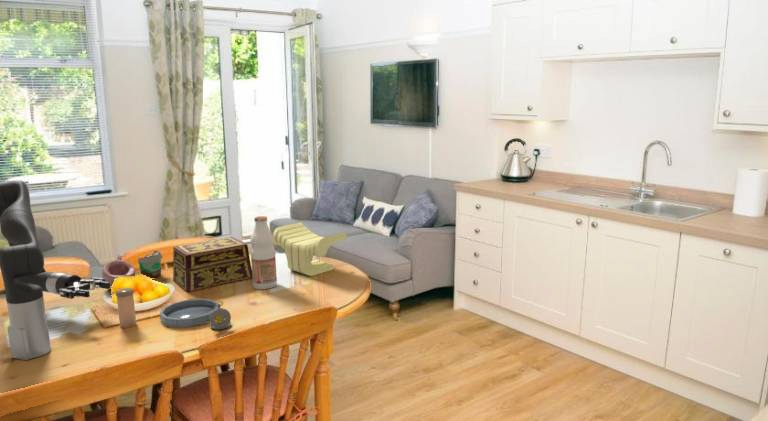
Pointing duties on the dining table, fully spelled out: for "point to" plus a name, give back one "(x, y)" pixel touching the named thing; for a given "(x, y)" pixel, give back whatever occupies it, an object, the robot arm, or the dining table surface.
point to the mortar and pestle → (117, 270)
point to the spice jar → (126, 307)
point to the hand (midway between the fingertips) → (99, 289)
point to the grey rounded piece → (220, 318)
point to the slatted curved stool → (304, 248)
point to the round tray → (187, 313)
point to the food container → (151, 265)
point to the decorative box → (211, 264)
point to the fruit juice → (263, 255)
